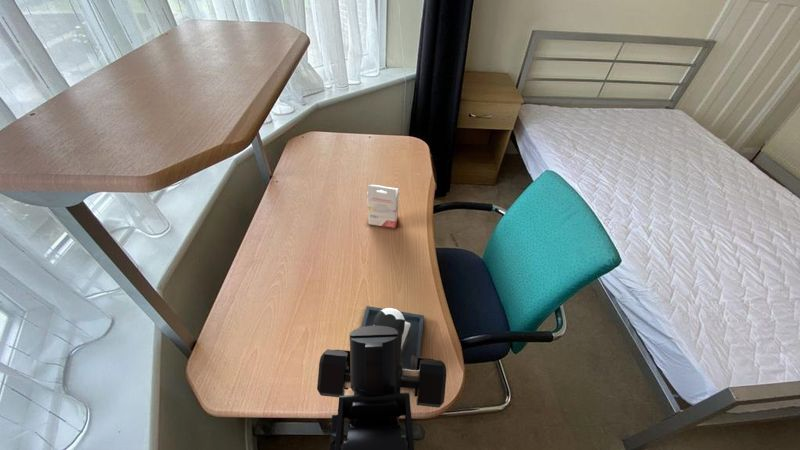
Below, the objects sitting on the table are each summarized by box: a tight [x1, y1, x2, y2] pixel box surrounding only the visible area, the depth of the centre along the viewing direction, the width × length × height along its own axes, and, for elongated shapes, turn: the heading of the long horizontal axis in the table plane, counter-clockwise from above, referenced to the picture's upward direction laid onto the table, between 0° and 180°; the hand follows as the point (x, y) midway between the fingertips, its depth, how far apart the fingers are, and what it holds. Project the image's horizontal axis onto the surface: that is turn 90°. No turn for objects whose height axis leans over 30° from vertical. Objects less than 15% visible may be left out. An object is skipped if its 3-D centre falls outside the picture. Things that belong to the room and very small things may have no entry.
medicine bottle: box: [374, 307, 411, 358], centre depth 67 cm, size 7×7×12 cm
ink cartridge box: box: [366, 184, 400, 229], centre depth 95 cm, size 9×5×15 cm, turn 80°
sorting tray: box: [360, 305, 425, 391], centre depth 71 cm, size 16×14×2 cm
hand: (385, 355), depth 57 cm, fingers open, 9 cm apart
